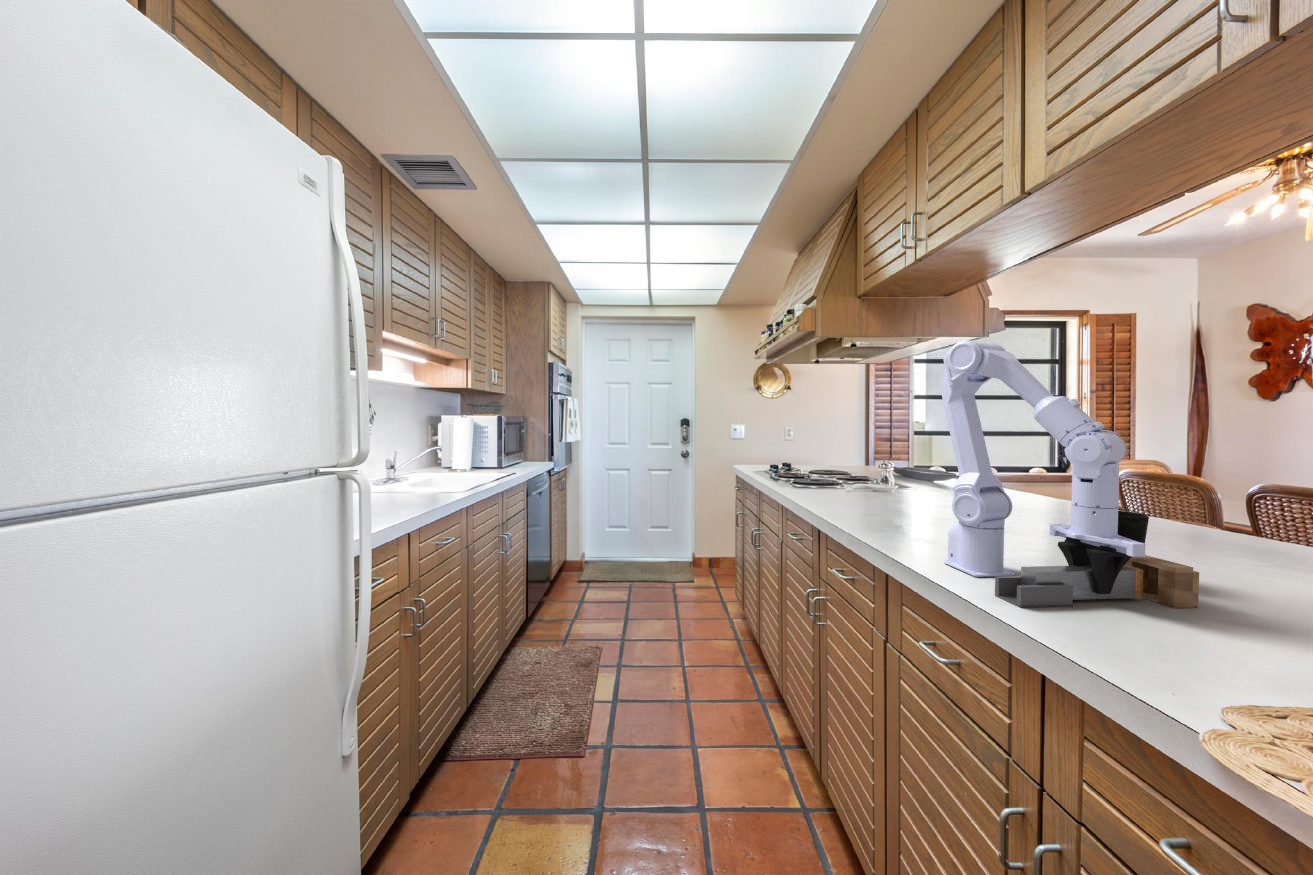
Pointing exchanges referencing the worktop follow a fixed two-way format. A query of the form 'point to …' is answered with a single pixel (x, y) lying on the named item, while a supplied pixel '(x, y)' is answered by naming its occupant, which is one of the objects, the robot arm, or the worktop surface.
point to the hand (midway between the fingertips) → (1091, 589)
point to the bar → (1085, 580)
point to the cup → (1132, 525)
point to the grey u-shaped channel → (1032, 593)
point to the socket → (1168, 582)
